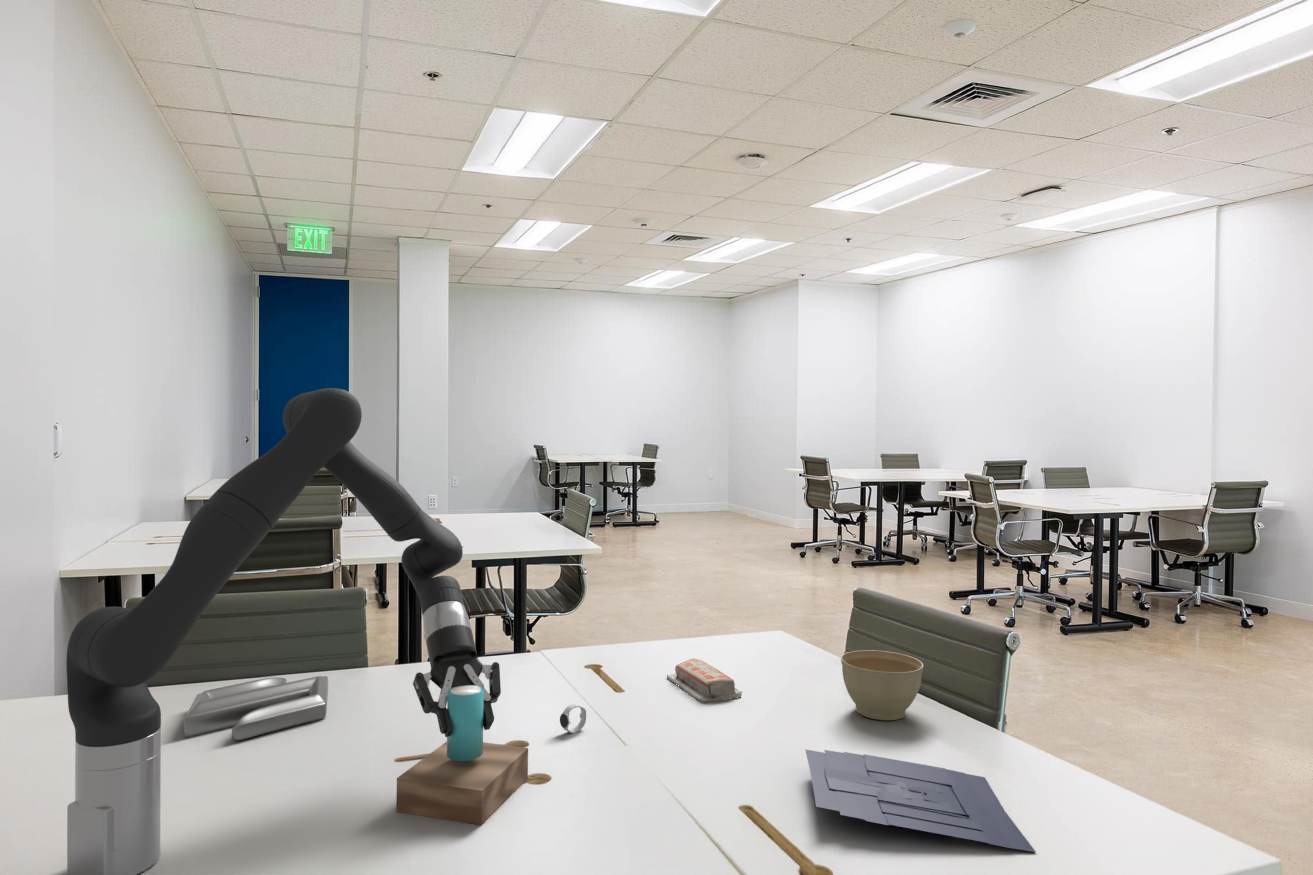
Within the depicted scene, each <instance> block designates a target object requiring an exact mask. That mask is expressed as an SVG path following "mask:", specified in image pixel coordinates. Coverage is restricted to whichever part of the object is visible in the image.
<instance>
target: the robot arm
mask: <svg viewBox="0 0 1313 875" xmlns="http://www.w3.org/2000/svg"><path fill="white" fill-rule="evenodd" d="M362 416H363V414H362V406H361V404H360V402H359V400H358V398H357V397H356V396H355V395H354V394H352V392H350V391H348V390H346V389H343V388H342V389H341V388H336V387H329V388H328V387H327V388H321V389H316V390H312V391H308V392H303V393H300V394H298V395H296V396H294V397H293V398H291V399H290V400H289V401H288V402H287V403H286V405H285V407H284V409H283V412H282V422H283V423H282V424H283V427H284V430H285V432H286V435H285V436H284V437H282V439H281V440H280V441H278V442H277V444H276V445H274V446H273V447H272V448H271V449H269V450H268V451H267V452H265V453H264V454H262V455H261V456H260V457H258V458H256V459H255V460H254V461H252V462H250V463H249V464H247V465H246V466H245V467H244V468H241V470H239V471H238V472H237V473H235V474H234V475H232V476H231V477H230V478H228V479H227V481H225V482H224V483H223V484H222V485H221V486H220V487H219V488H218V489H217V490H215V492H214V493H213V494H212V495H210V497H209V498H208V499H207V501H206V502H205V503H204V504H203V505H202V506H200V508H199V509H198V510H197V511H196V513H195V514H194V515H193V516H192V518H191V519H190V521H189V522H188V525H187V526H186V528H185V530H184V533H183V534H182V538H181V540H180V543H179V545H178V548H177V551H176V554H175V557H174V559H173V561H172V563H171V565H170V567H169V568H168V570H167V572H166V573H165V575H164V576H163V578H162V579H161V580H160V581H159V582H158V583H157V584H156V585H155V586H154V587H153V589H151V590H150V592H148V594H146V596H145V597H144V598H143V599H141V601H140V602H139V603H138V604H137V605H136V606H135V607H133V608H127V607H123V606H106V607H100V608H97V609H95V610H93V611H91V612H89V613H88V614H86V615H85V616H83V617H82V618H81V619H80V620H79V621H78V622H77V624H76V625H75V626H74V628H73V630H72V632H71V634H70V636H69V639H68V643H67V648H66V661H65V662H66V682H67V683H66V685H67V686H66V688H67V706H68V708H67V709H68V713H69V716H70V719H71V722H72V723H73V724H72V725H73V726H74V733H75V734H74V738H75V740H74V741H75V758H74V759H75V760H74V761H75V766H74V769H75V771H74V772H75V773H74V774H75V775H74V778H75V779H74V785H75V786H74V788H75V789H74V792H75V793H74V794H75V795H74V801H71V802H70V803H68V804H67V809H66V812H67V813H66V814H67V815H66V816H67V817H66V820H67V821H66V824H67V825H66V826H67V828H66V829H67V830H66V831H67V832H66V842H67V843H66V847H67V848H66V862H67V863H66V865H67V866H66V875H138V874H141V873H142V872H144V871H146V870H147V869H150V868H151V867H152V866H154V865H155V864H156V863H157V862H158V860H159V858H160V856H161V793H162V792H161V788H162V787H161V786H162V785H161V780H162V779H161V778H162V776H161V774H162V773H161V771H162V770H161V768H162V766H161V761H162V760H161V758H162V757H161V755H162V753H161V748H162V744H161V743H162V713H161V712H162V710H161V707H160V705H159V703H158V702H157V700H156V699H155V698H154V696H153V695H152V693H151V691H150V689H149V686H148V684H147V682H149V680H151V679H152V678H153V677H155V676H156V675H157V674H158V673H160V671H162V669H163V668H165V666H166V665H167V664H168V662H169V661H170V660H171V659H172V657H173V656H174V655H175V654H176V652H177V650H178V649H179V647H180V646H181V644H182V643H183V642H184V641H185V639H186V637H187V635H189V632H190V631H191V630H192V628H193V626H194V625H195V624H196V623H197V621H198V619H199V618H200V616H201V615H202V614H203V612H204V610H206V608H207V607H208V605H209V604H210V603H211V602H212V600H213V599H214V598H215V596H216V595H217V594H218V593H219V592H220V590H222V589H223V587H224V586H225V584H226V583H227V582H228V581H229V580H230V579H231V577H232V576H233V575H234V573H235V572H236V571H237V570H238V568H239V567H240V566H241V565H242V564H243V562H244V561H245V560H246V559H247V558H248V557H249V556H250V555H251V554H252V553H253V551H254V550H255V549H256V548H257V547H258V546H259V545H260V543H261V542H262V541H263V539H265V537H266V536H267V535H268V534H269V533H270V532H271V531H272V529H273V528H274V526H275V525H276V523H277V522H279V519H280V518H281V517H282V516H283V514H285V512H286V511H287V510H288V509H289V508H290V507H291V505H292V504H293V502H294V501H295V500H296V499H297V498H298V496H300V494H301V493H302V492H303V490H304V489H305V488H306V486H307V485H308V484H309V483H310V481H311V480H312V479H313V478H314V476H316V474H317V473H318V472H319V471H320V470H322V469H323V468H325V469H326V470H327V471H328V472H329V473H330V474H331V475H332V476H334V478H335V479H337V481H338V482H340V483H341V484H342V485H343V486H344V487H345V488H346V489H347V490H348V491H349V493H351V494H352V495H353V496H354V497H355V498H356V499H357V500H358V501H359V502H360V504H361V505H362V506H363V507H364V508H365V510H367V512H368V513H369V514H370V515H371V516H372V518H373V519H374V520H375V521H376V522H377V524H378V525H379V526H380V527H381V528H382V530H383V531H384V532H385V533H386V534H387V536H388V537H389V538H390V539H392V540H393V541H395V542H405V541H410V540H415V539H417V541H414V542H413V543H411V544H409V545H408V546H406V547H405V548H404V550H403V552H402V554H401V560H400V561H401V566H402V568H403V570H404V572H405V574H406V575H407V577H408V579H409V580H410V582H411V584H412V586H413V587H414V590H415V591H416V594H417V596H418V600H419V604H420V609H421V615H422V620H423V621H422V622H423V633H424V635H423V636H424V637H423V638H424V641H425V643H426V648H427V654H428V659H429V664H430V665H429V666H430V671H429V672H426V673H423V672H420V671H419V672H416V674H415V675H414V679H413V682H412V685H413V688H414V690H415V693H416V695H417V698H418V700H419V704H420V706H421V709H422V711H423V713H424V714H430V713H432V714H435V715H436V718H437V722H438V723H437V724H438V728H439V732H440V734H441V735H444V737H445V738H447V737H449V736H451V733H452V725H451V720H450V715H449V710H448V708H447V699H448V690H450V689H451V688H452V687H455V686H462V685H475V686H476V685H478V686H481V687H483V688H484V710H483V731H489V730H490V729H491V727H492V726H493V724H494V721H495V715H494V712H493V707H492V704H496V703H497V701H498V700H499V697H500V696H501V693H502V689H501V673H500V672H501V671H500V663H499V662H498V661H495V662H492V664H483V663H482V662H481V661H480V659H479V657H478V653H477V649H476V644H475V639H474V634H473V630H472V626H471V622H470V618H469V617H470V616H468V613H467V610H466V607H465V603H464V602H465V601H464V598H463V595H462V590H461V587H460V583H459V582H458V580H457V579H456V578H455V577H454V576H453V577H452V576H450V575H440V574H441V573H443V572H445V571H447V570H450V569H451V568H453V567H454V566H456V565H457V564H459V563H460V562H461V561H462V558H463V551H464V550H463V546H462V543H461V540H460V539H459V538H458V537H457V535H456V534H455V533H454V532H453V531H451V530H450V529H449V528H447V527H446V526H444V525H443V524H442V523H440V522H439V521H437V520H435V519H434V518H433V517H432V516H431V515H429V514H427V513H426V512H425V511H423V509H422V508H421V507H420V506H419V504H418V503H417V502H416V500H415V499H414V498H413V496H412V495H410V493H409V492H408V490H407V489H406V488H405V487H404V486H403V485H402V484H401V483H400V482H399V481H398V480H397V479H396V478H394V477H393V476H392V475H390V474H389V473H388V472H386V471H385V470H384V469H382V468H381V467H379V466H378V465H376V464H375V463H374V462H373V461H371V460H370V459H369V458H368V457H367V456H365V455H364V454H363V453H362V452H361V451H360V450H359V449H357V447H356V446H355V445H354V444H353V443H352V442H351V440H352V439H353V438H354V437H355V435H357V434H356V433H357V432H358V430H359V429H360V426H361V422H362ZM418 539H419V540H418ZM438 575H439V576H438ZM482 673H483V674H484V676H485V678H486V680H488V684H489V685H488V686H489V688H488V689H489V691H487V689H486V688H485V685H484V683H483V682H482V680H481V678H480V676H481V674H482ZM430 681H431V682H432V683H434V684H435V685H436V686H437V687H438V688H439V689H440V693H439V696H438V699H437V701H435V700H434V699H433V696H432V692H431V690H430V688H429V686H430Z"/></svg>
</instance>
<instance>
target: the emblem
mask: <svg viewBox="0 0 1313 875" xmlns="http://www.w3.org/2000/svg"><path fill="white" fill-rule="evenodd" d="M328 678H329V677H328V676H327V675H325V676H323V675H318V676H313V677H308V678H303V679H299V680H293V681H289V682H287V681H288V680H287V678H284V677H278V676H277V677H265V678H261V679H256V680H250V681H245V682H240V683H235V684H231V685H227V686H221V687H217V688H212V689H207V690H204V691H202V692H200V693H198V694H196V695H195V697H194V699H193V701H192V703H191V706H190V707H189V709H188V710H187V714H186V715H185V717H184V720H183V736H184V737H183V738H185V739H188V738H194V737H198V736H201V735H206V734H210V733H215V732H218V731H222V730H226V729H230V728H231V729H232V730H231V737H232V738H233V739H235V740H236V741H242V740H244V741H245V740H246V739H250V738H254V737H258V736H262V735H265V734H269V733H273V732H276V731H280V730H284V729H287V728H291V727H294V726H298V725H302V724H307V723H310V722H313V721H314V722H315V721H317V720H321V719H324V718H326V716H327V711H328V710H327V709H328V697H329V696H328V695H329V679H328Z"/></svg>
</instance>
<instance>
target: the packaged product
mask: <svg viewBox="0 0 1313 875" xmlns="http://www.w3.org/2000/svg"><path fill="white" fill-rule="evenodd" d="M674 671H675V673H671V674H666V678H667V679H668V678H669V679H670V680H671V681H670V680H669V679H668V680H669V681H670V682H672V681H673V682H672V683H674V684H675V683H676V684H677V685H676V684H675V685H676V686H678V685H679V686H680V687H681V689H682V688H683V689H684V690H685V691H686V692H685V691H684V690H683V689H682V690H683V691H684V692H685V693H687V692H688V693H689V694H688V693H687V694H688V695H690V694H691V695H690V696H692V697H693V698H694V699H696V700H698V701H699V702H700V701H701V702H700V703H702V704H705V703H704V702H707V703H712V701H714V702H719V701H718V700H721V701H725V700H724V699H728V700H731V699H730V698H735V699H738V698H737V697H741V696H742V694H743V693H742V692H743V691H742V690H741V691H740V690H739V689H737V688H736V686H735V679H733V678H731V677H730V676H729V675H727V674H725V673H724V672H721V671H720V670H719V669H717V668H716V667H713V666H711V665H710V664H708V663H707V662H706V661H704V660H702V659H700V658H699V659H698V658H694V657H693V658H690V659H687V660H685V661H683V662H680V663H679V664H676V665H675V668H674ZM679 686H678V687H679ZM680 687H679V688H680ZM741 698H742V697H741Z"/></svg>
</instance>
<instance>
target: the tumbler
mask: <svg viewBox="0 0 1313 875" xmlns="http://www.w3.org/2000/svg"><path fill="white" fill-rule="evenodd" d="M484 688H485V687H484ZM484 688H483V687H481V686H478V685H476V686H475V685H462V686H455V687H452V688H451V689H450V690H448V699H447V705H446V709H447V708H448V710H449V715H450V720H451V725H452V733H451V736H449V737H446V742H447V757H448V758H449V759H451V760H454V761H470V760H474V759H477V758H479V757H480V756H481V755H482V754H483V742H484V727H483V710H484Z"/></svg>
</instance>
